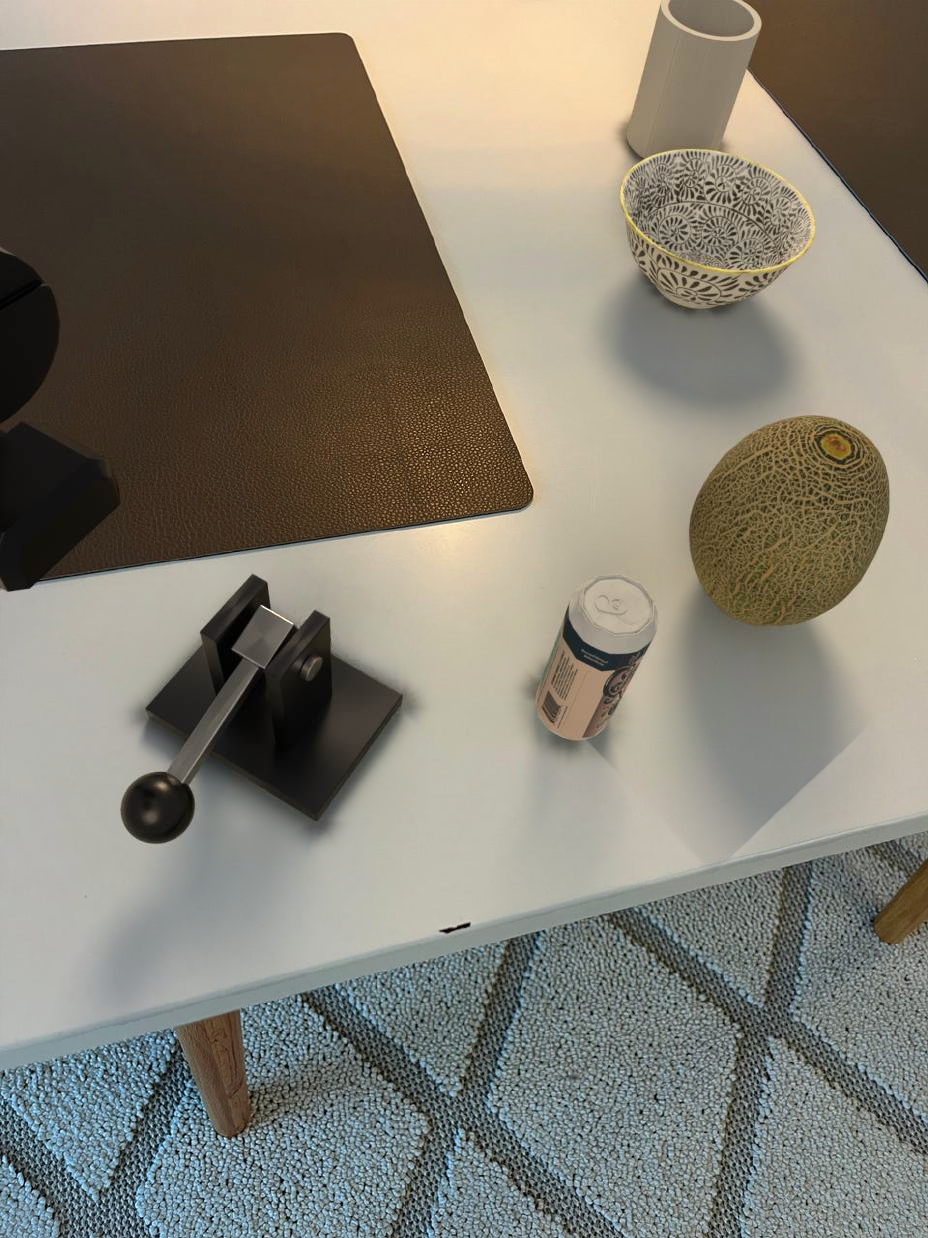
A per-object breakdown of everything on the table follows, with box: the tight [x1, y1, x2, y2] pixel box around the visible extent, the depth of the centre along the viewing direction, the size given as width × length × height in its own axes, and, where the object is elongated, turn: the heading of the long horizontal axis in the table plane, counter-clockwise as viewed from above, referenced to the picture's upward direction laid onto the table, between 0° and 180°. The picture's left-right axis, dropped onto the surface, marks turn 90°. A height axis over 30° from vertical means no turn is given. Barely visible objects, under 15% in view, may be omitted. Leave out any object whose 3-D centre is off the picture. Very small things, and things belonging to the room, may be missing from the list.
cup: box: [626, 0, 763, 160], centre depth 89 cm, size 9×9×12 cm
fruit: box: [688, 414, 891, 627], centre depth 59 cm, size 11×11×15 cm
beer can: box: [534, 572, 659, 741], centre depth 54 cm, size 5×5×12 cm
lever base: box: [144, 573, 403, 823], centre depth 53 cm, size 9×12×10 cm
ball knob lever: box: [120, 605, 299, 845], centre depth 49 cm, size 13×4×4 cm, turn 150°
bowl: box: [619, 149, 816, 310], centre depth 79 cm, size 16×16×8 cm
